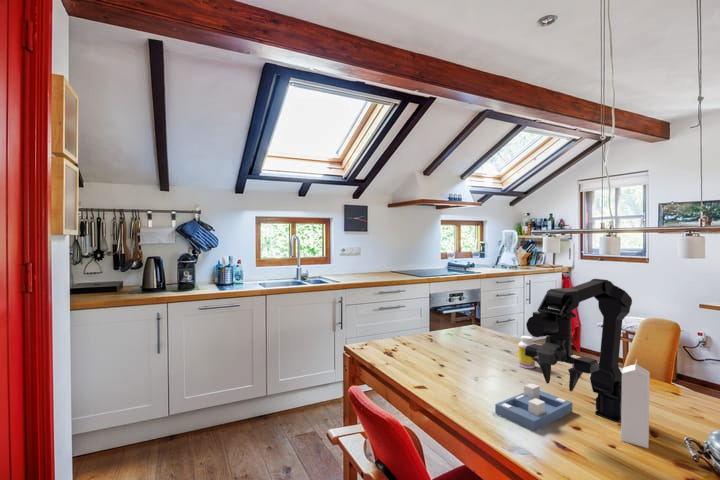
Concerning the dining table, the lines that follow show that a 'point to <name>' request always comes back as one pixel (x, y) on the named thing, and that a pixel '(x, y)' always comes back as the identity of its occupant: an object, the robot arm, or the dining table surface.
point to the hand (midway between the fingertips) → (559, 387)
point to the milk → (635, 405)
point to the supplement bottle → (523, 359)
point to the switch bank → (519, 414)
